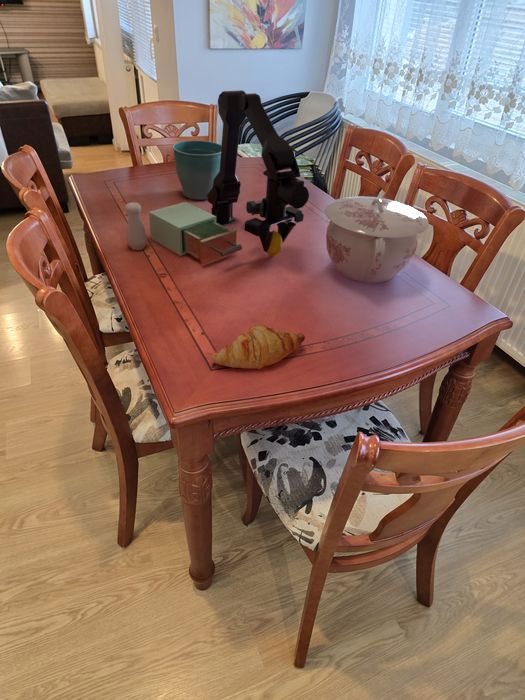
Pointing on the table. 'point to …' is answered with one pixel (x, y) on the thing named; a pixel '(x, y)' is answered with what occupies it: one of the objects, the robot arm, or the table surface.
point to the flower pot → (197, 166)
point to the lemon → (275, 244)
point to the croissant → (258, 348)
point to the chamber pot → (372, 236)
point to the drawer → (209, 241)
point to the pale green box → (175, 224)
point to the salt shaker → (135, 227)
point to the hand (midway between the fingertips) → (272, 248)
